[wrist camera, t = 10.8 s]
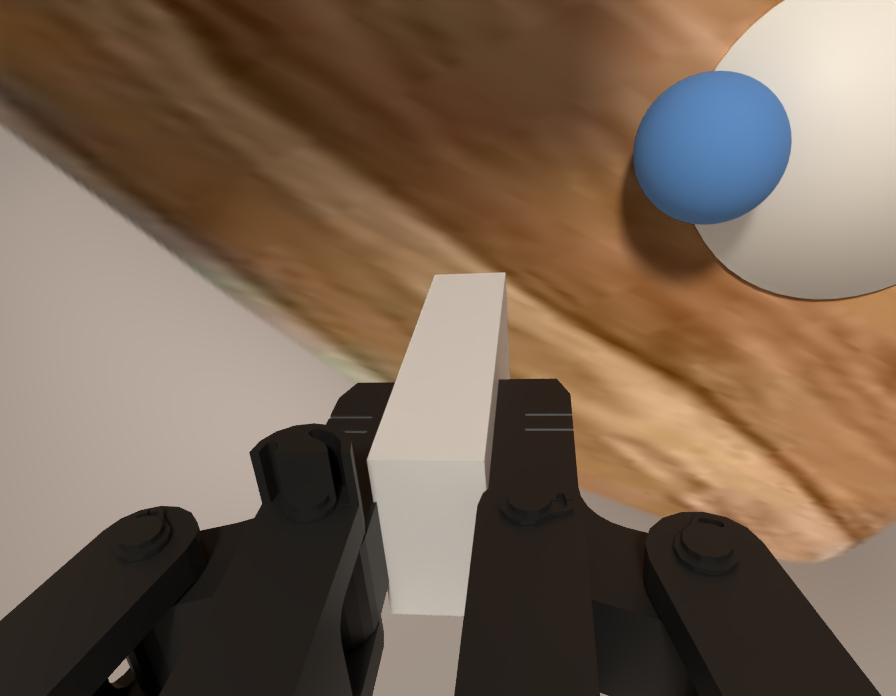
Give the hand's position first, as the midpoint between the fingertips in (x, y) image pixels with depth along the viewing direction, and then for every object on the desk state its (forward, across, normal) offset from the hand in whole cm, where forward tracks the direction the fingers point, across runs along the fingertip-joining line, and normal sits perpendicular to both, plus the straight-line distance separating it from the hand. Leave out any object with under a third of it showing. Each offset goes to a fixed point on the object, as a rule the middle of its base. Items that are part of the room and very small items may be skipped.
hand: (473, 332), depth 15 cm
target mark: (+16, +14, 0) cm, 22 cm away
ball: (+14, +8, +1) cm, 16 cm away
